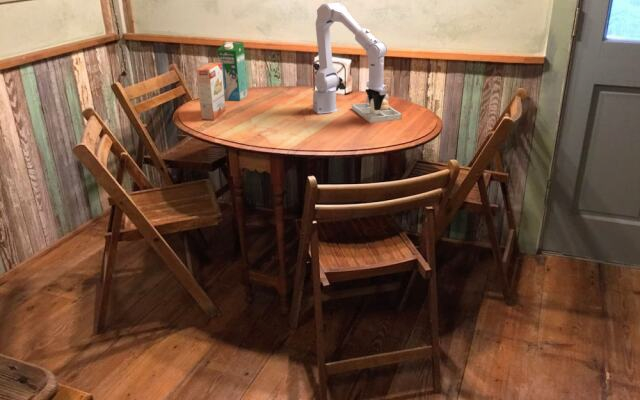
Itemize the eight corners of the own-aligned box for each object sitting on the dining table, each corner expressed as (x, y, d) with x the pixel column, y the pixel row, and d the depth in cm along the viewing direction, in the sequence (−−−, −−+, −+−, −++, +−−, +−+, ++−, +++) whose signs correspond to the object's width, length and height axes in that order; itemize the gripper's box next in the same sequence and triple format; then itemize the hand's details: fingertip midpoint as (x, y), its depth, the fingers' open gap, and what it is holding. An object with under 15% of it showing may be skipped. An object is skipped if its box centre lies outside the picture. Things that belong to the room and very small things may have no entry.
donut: (392, 92, 240) (381, 91, 232) (393, 100, 240) (382, 99, 232) (372, 97, 246) (361, 96, 238) (373, 104, 246) (362, 104, 238)
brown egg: (380, 114, 226) (381, 100, 224) (376, 112, 230) (377, 98, 227) (389, 113, 227) (390, 99, 225) (385, 111, 231) (386, 97, 228)
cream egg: (372, 114, 218) (372, 99, 215) (368, 111, 221) (368, 97, 218) (381, 113, 219) (382, 98, 216) (377, 110, 222) (378, 96, 219)
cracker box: (214, 120, 225) (209, 69, 215) (201, 119, 226) (195, 69, 217) (226, 110, 237) (222, 62, 228) (213, 110, 238) (208, 61, 229)
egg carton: (369, 123, 217) (370, 117, 216) (351, 110, 235) (351, 104, 234) (401, 120, 221) (401, 114, 220) (381, 106, 238) (381, 101, 237)
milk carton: (221, 99, 253) (216, 44, 242) (230, 94, 260) (225, 41, 249) (239, 101, 250) (235, 45, 239) (247, 95, 258) (243, 41, 247)
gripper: (393, 77, 208) (391, 112, 214) (378, 69, 220) (377, 102, 226) (376, 79, 206) (375, 114, 212) (361, 71, 219) (361, 104, 225)
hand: (375, 108), depth 219 cm, fingers closed on cream egg, 4 cm apart
